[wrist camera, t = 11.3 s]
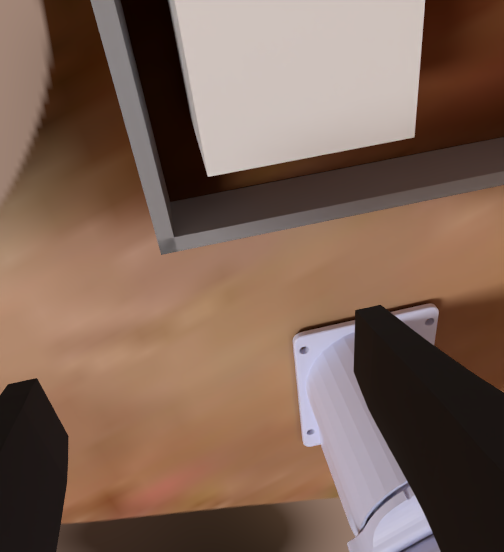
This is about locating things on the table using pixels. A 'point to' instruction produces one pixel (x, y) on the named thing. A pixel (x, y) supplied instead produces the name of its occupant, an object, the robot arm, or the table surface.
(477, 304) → the table surface
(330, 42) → the white box
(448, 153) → the bin
